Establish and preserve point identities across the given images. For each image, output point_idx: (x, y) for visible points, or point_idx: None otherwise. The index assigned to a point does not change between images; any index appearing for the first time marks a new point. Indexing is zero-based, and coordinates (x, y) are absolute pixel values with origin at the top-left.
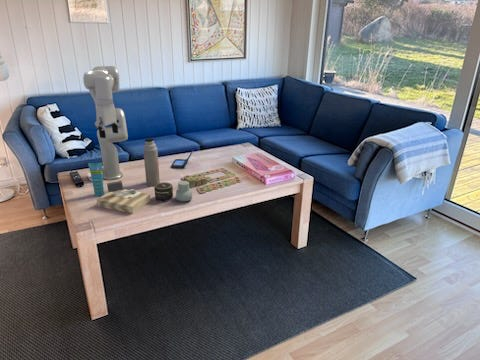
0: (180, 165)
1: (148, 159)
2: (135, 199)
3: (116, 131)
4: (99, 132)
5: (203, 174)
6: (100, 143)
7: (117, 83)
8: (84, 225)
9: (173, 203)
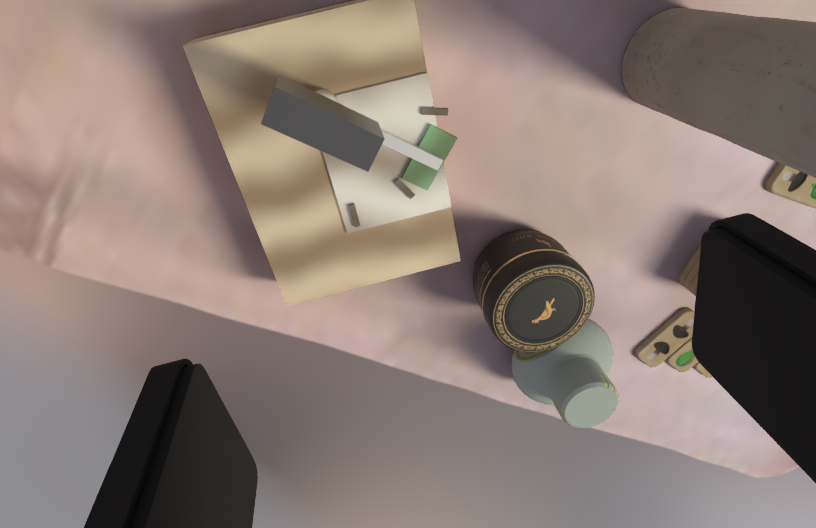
0: None
1: (767, 133)
2: (360, 252)
3: (721, 369)
4: (102, 499)
5: None
6: None
7: None
8: (8, 197)
9: (488, 339)
